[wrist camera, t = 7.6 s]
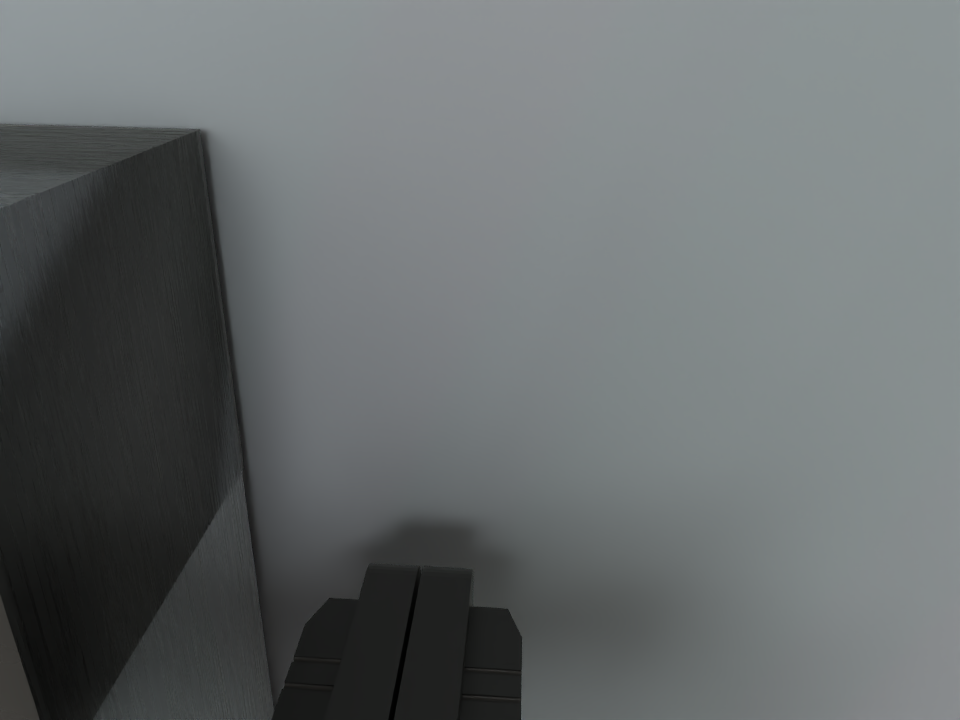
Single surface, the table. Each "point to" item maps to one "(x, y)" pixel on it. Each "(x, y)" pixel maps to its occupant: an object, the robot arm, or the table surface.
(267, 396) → the table surface
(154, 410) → the bar
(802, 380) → the table surface
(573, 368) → the table surface
